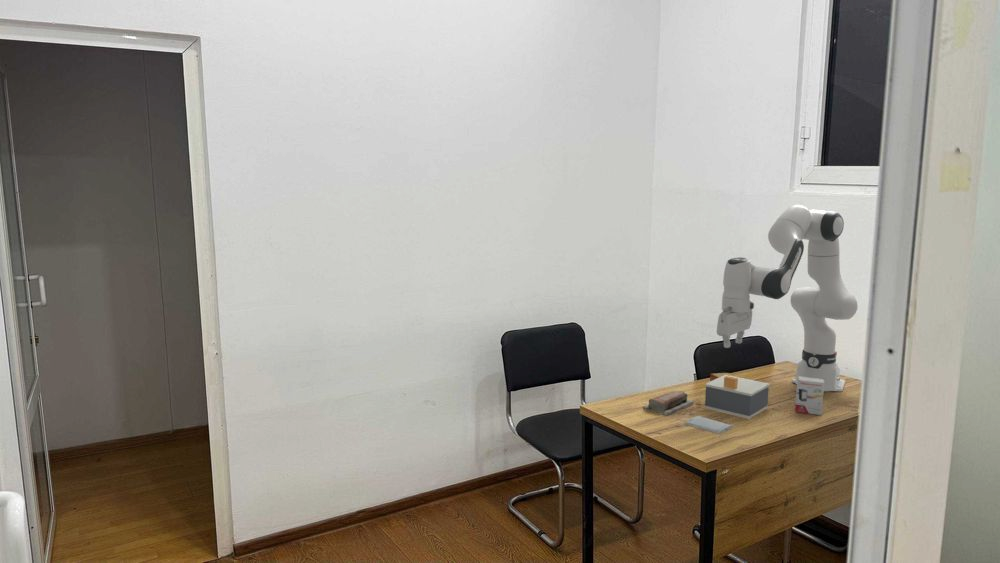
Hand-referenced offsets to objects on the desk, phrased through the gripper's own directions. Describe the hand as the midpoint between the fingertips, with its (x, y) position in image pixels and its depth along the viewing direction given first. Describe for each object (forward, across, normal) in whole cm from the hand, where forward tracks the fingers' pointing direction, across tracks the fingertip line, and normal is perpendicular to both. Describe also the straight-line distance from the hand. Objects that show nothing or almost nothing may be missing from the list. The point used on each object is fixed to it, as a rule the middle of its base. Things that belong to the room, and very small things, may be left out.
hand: (732, 345), depth 232 cm
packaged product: (+25, -9, +18) cm, 32 cm away
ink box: (+24, +20, -20) cm, 37 cm away
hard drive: (+25, -18, -1) cm, 31 cm away
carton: (+24, +28, +12) cm, 39 cm away
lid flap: (+16, +6, 0) cm, 17 cm away
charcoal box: (+24, +6, 0) cm, 25 cm away
